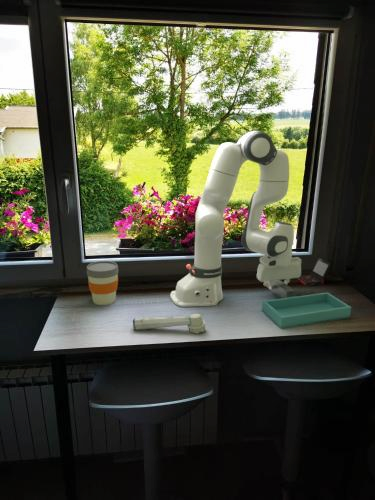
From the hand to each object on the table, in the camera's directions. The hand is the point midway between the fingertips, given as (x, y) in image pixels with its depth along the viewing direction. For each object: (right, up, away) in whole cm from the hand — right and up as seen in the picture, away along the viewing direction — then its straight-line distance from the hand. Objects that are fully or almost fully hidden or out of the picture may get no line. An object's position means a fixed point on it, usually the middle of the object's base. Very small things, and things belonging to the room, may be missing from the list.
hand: (277, 288), depth 161 cm
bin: (+6, -8, -20) cm, 22 cm away
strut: (0, -2, 0) cm, 2 cm away
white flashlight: (-46, -12, -32) cm, 57 cm away
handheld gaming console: (+20, +2, +13) cm, 24 cm away
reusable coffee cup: (-74, -4, -10) cm, 75 cm away
